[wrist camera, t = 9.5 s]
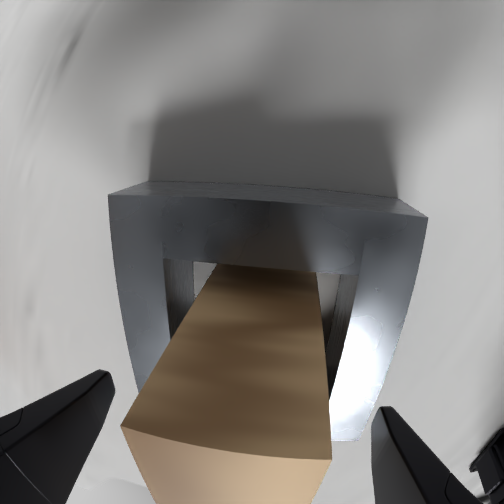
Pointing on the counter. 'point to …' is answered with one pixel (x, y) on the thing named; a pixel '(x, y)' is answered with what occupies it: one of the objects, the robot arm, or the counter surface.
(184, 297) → the block
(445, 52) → the counter surface
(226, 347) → the oak peg
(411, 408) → the counter surface
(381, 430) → the robot arm
